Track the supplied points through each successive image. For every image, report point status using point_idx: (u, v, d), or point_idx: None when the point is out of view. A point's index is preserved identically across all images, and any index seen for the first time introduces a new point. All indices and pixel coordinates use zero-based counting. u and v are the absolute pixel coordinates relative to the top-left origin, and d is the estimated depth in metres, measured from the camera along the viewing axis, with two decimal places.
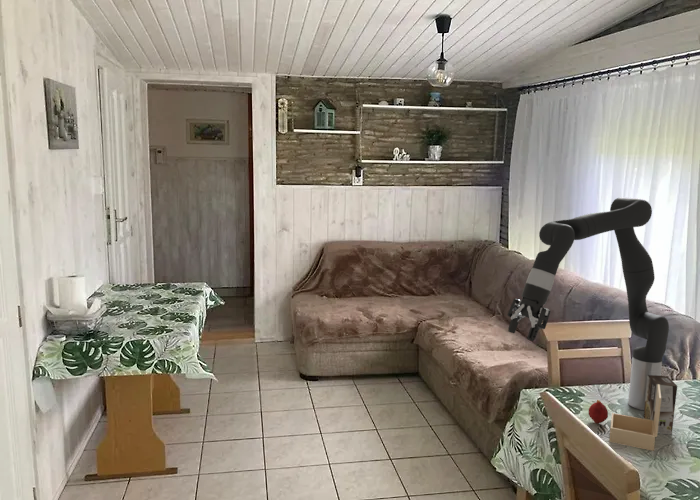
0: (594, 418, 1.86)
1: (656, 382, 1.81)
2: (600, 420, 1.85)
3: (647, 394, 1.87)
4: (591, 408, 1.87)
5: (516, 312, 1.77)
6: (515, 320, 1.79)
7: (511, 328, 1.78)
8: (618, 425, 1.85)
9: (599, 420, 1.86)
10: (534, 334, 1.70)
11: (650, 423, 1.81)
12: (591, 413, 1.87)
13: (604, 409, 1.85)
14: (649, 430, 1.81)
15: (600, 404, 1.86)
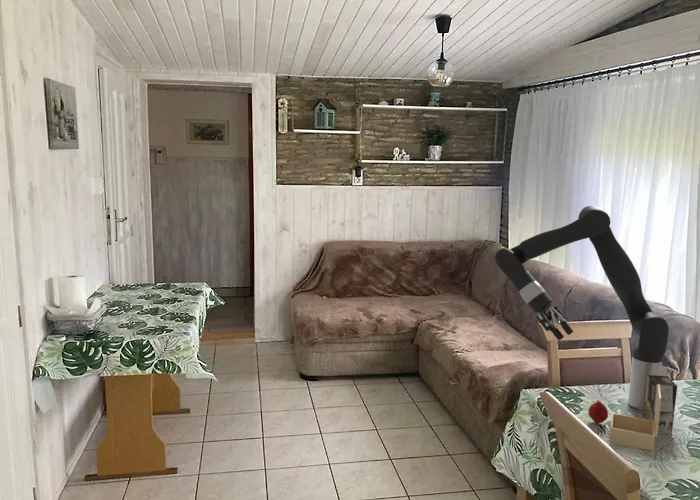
0: (594, 418, 1.86)
1: (656, 382, 1.81)
2: (600, 420, 1.85)
3: (647, 394, 1.87)
4: (591, 408, 1.87)
5: None
6: (563, 324, 1.97)
7: (566, 331, 1.97)
8: (618, 425, 1.85)
9: (599, 420, 1.86)
10: (556, 334, 1.90)
11: (650, 423, 1.81)
12: (591, 413, 1.87)
13: (604, 409, 1.85)
14: (649, 430, 1.81)
15: (600, 404, 1.86)
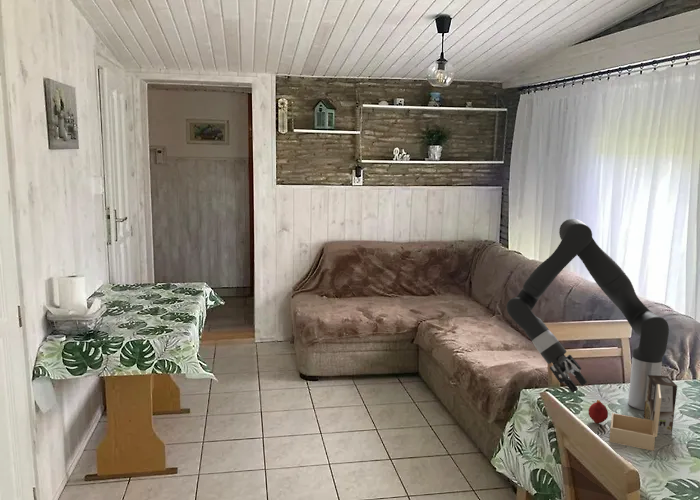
0: (594, 418, 1.86)
1: (656, 382, 1.81)
2: (600, 420, 1.85)
3: (647, 394, 1.87)
4: (591, 408, 1.87)
5: None
6: (577, 374, 1.96)
7: (580, 382, 1.95)
8: (618, 425, 1.85)
9: (599, 420, 1.86)
10: (569, 386, 1.88)
11: (650, 423, 1.81)
12: (591, 413, 1.87)
13: (604, 409, 1.85)
14: (649, 430, 1.81)
15: (600, 404, 1.86)
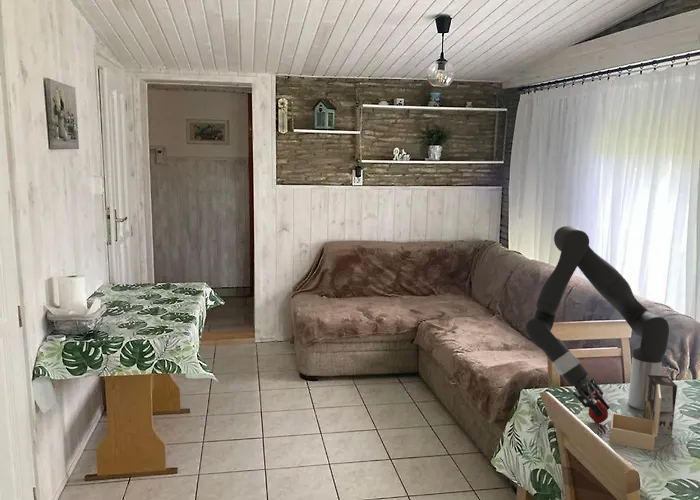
0: (594, 418, 1.86)
1: (656, 382, 1.81)
2: (600, 420, 1.85)
3: (647, 394, 1.87)
4: None
5: None
6: (599, 399, 1.90)
7: None
8: (618, 425, 1.85)
9: (599, 420, 1.86)
10: (595, 411, 1.84)
11: (650, 423, 1.81)
12: (591, 413, 1.87)
13: (604, 409, 1.85)
14: (649, 430, 1.81)
15: (600, 404, 1.86)
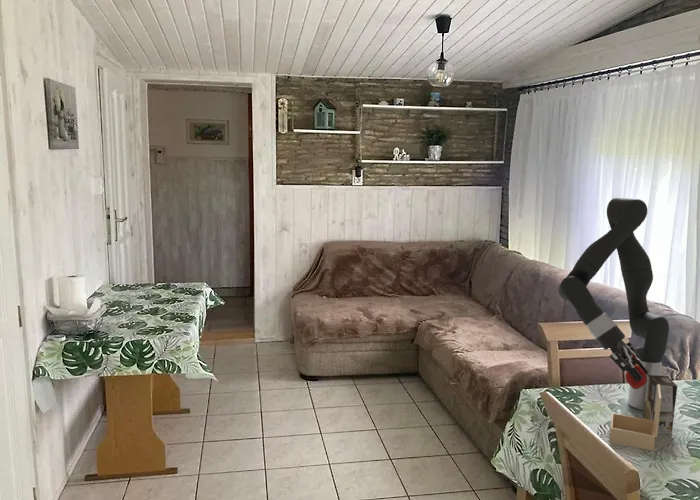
0: (632, 383, 1.74)
1: (656, 382, 1.81)
2: (638, 385, 1.74)
3: (647, 394, 1.87)
4: None
5: None
6: (636, 363, 1.78)
7: None
8: (618, 425, 1.85)
9: (637, 385, 1.74)
10: (633, 375, 1.72)
11: (650, 423, 1.81)
12: (629, 378, 1.75)
13: (643, 373, 1.74)
14: (649, 430, 1.81)
15: (638, 368, 1.74)
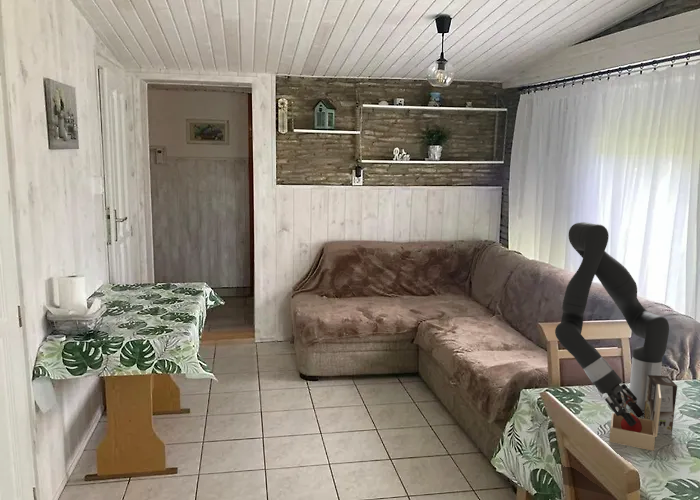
0: None
1: (656, 382, 1.81)
2: None
3: (647, 394, 1.87)
4: (624, 421, 1.77)
5: None
6: (633, 405, 1.81)
7: (636, 414, 1.81)
8: (618, 425, 1.85)
9: None
10: (627, 420, 1.74)
11: (650, 423, 1.81)
12: (624, 426, 1.77)
13: (638, 422, 1.76)
14: (649, 430, 1.81)
15: (633, 417, 1.76)
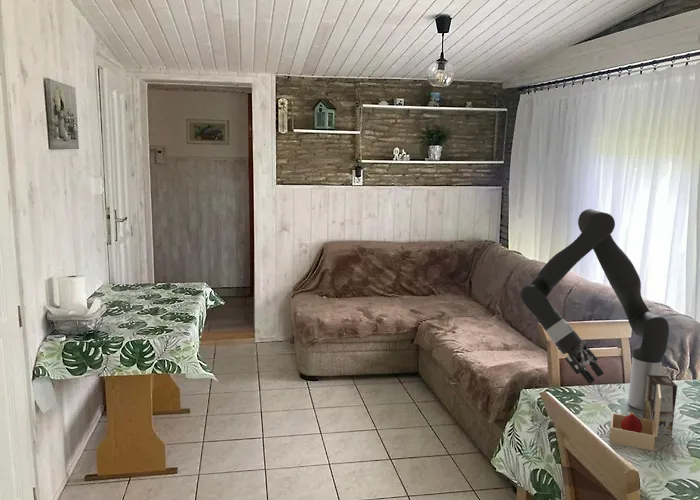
0: None
1: (656, 382, 1.81)
2: None
3: (647, 394, 1.87)
4: (624, 421, 1.77)
5: None
6: (593, 365, 1.88)
7: (596, 373, 1.87)
8: (618, 425, 1.85)
9: None
10: (586, 377, 1.80)
11: (650, 423, 1.81)
12: (624, 426, 1.77)
13: (638, 422, 1.76)
14: (649, 430, 1.81)
15: (634, 417, 1.77)
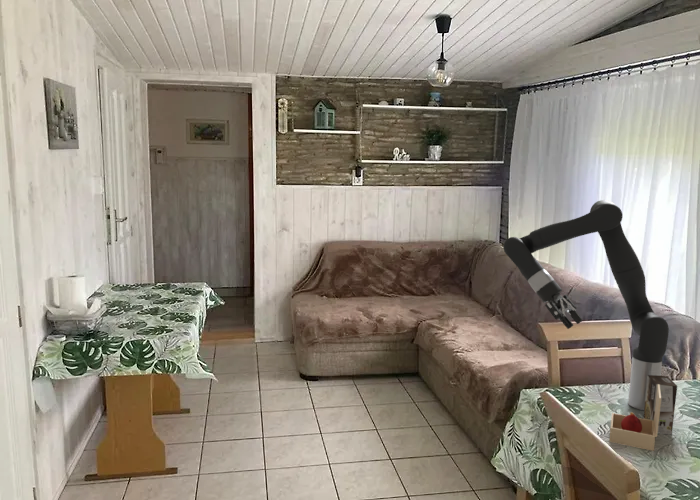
0: None
1: (656, 382, 1.81)
2: None
3: (647, 394, 1.87)
4: (624, 421, 1.77)
5: None
6: (572, 312, 1.96)
7: (575, 320, 1.96)
8: (618, 425, 1.85)
9: None
10: (565, 323, 1.89)
11: (650, 423, 1.81)
12: (624, 426, 1.77)
13: (638, 422, 1.76)
14: (649, 430, 1.81)
15: (634, 417, 1.77)
